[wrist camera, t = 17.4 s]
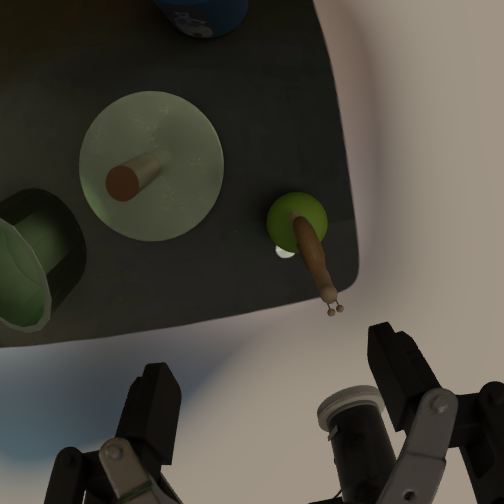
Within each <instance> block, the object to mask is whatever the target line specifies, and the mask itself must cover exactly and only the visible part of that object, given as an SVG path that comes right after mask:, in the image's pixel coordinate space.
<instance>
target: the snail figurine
mask: <svg viewBox="0 0 504 504" xmlns="http://www.w3.org/2000/svg"><path fill="white" fill-rule="evenodd" d="M267 229H268V233H269V235H270V237H271V239H272V240H273V242H274V243H275V244H276V245H277V246H278V247H280V248H281V249H283V250H285V251H288V252H292V253H300V255H301V258H302V260H303V262H304V264H305V266H306V268H307V269H308V271H309V272H310V273H311V274H312V276H313V279H314V281H315V284H316V285H317V287H318V289H319V291H320V297H321V299H322V300H323V301H324V302H325V303H327V305H328V307H329V304H331V303H333V302H335V301H336V302H337V290H336V288H335V287H334V286H333V284H332V281H331V278H330V275H329V273H328V271H327V269H326V268H325V255H324V252H323V248H322V246H321V243H320V242H321V241H322V239H323V238H324V236H325V233H326V230H327V216H326V212H325V210H324V208H323V206H322V205H321V204H320V202H319V201H318V200H317V199H315V198H314V197H312V196H311V195H308V194H306V193H301V192H292V193H288V194H285V195H283V196H281V197H280V198H278V199H277V200H276V201H275V202H274V203H273V205H272V206H271V208H270V210H269V212H268V215H267ZM337 304H338V302H337ZM336 310H337V312H342V311H343V310H344V307H343V306H342V305H339V304H338V306H337V307H336ZM334 314H335V310H334V309H330V307H329V310H328V315H329V316H333V315H334Z"/></svg>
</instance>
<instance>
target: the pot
mask: <svg viewBox="0 0 504 504" xmlns="http://www.w3.org/2000/svg"><path fill="white" fill-rule="evenodd" d="M85 263H86V249H85V243H84V239H83V235H82V232H81V230H80V227H79V225H78V223H77V221H76V219H75V218H74V216H73V214H72V213H71V211H70V210H69V209H68V208H67V206H66V205H65V204H64V203H63V202H62V201H61V200H59V199H58V198H57V197H56V196H54V195H52V194H51V193H49V192H46V191H44V190H40V189H27V190H22V191H20V192H18V193H16V194H14V195H12V196H10V197H8V198H6V199H5V200H3V201H1V202H0V321H1V322H3V323H4V324H5V325H7V326H8V327H10V328H12V329H15V330H19V331H22V332H25V333H29V332H34V331H39V330H41V329H42V328H43V327H44V326H45V324H46V323H47V322H48V321H49V319H50V318H51V317H52V315H53V314H54V313H55V311H56V310H57V309H58V307H59V306H60V305H61V303H62V302H63V301H64V299H65V298H66V297H67V296H68V294H69V293H70V292H71V290H72V289H73V288H74V287H75V285H76V284H77V283H78V282H79V280H80V279H81V276H82V274H83V271H84V268H85Z"/></svg>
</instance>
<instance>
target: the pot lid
mask: <svg viewBox="0 0 504 504" xmlns="http://www.w3.org/2000/svg"><path fill="white" fill-rule="evenodd" d="M79 175H80V181H81V186H82V189H83V192H84V195H85V197H86V199H87V201H88V203H89V205H90V207H91V208H92V210H93V211H94V212H95V214H96V215H97V216H98V217H99V218H100V219H101V220H102V221H103V222H104V223H105V224H106V225H107V226H109V227H110V228H111V229H113V230H114V231H116V232H118V233H120V234H122V235H124V236H126V237H129V238H132V239H136V240H142V241H163V240H167V239H172V238H175V237H177V236H180V235H182V234H184V233H186V232H188V231H189V230H191V229H192V228H194V227H195V226H196V225H198V224H199V223H200V222H201V221H202V220H203V219H204V218H205V217H206V215H207V214H208V213H209V212H210V210H211V209H212V207H213V205H214V204H215V202H216V200H217V197H218V195H219V193H220V189H221V186H222V182H223V176H224V156H223V150H222V146H221V142H220V139H219V137H218V134H217V132H216V130H215V128H214V127H213V125H212V123H211V122H210V121H209V119H208V118H207V117H206V115H205V114H204V113H203V112H202V111H201V110H200V109H199V108H197V107H196V106H195V105H193V104H192V103H191V102H189V101H187V100H185V99H183V98H181V97H179V96H176V95H173V94H170V93H166V92H161V91H144V92H137V93H133V94H130V95H127V96H124V97H122V98H120V99H118V100H116V101H115V102H113V103H112V104H110V105H109V106H108V107H106V108H105V109H104V110H103V111H102V112H101V113H100V114H99V115H98V116H97V117H96V119H95V120H94V121H93V122H92V124H91V126H90V127H89V129H88V131H87V133H86V135H85V137H84V140H83V143H82V147H81V151H80V157H79Z"/></svg>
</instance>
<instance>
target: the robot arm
mask: <svg viewBox="0 0 504 504" xmlns="http://www.w3.org/2000/svg"><path fill="white" fill-rule="evenodd" d="M367 356H368V363H369V366H370V369H371V372H372V374H373V376H374V379H375V381H376V384H377V386H378V389H379V391H380V393H381V396H382V398H383V401H384V404H385V406H386V408H387V411H388V413H389V416H390V419H391V422H392V424H393V427H394V429H395V432H398V431H401V430H404V431H405V433H406V436H407V437H406V439H405V442H404V445H403V447H402V450H401V452H400V455H399V457H398V459H397V460H396V457H395V454H394V451H393V448H392V445H391V442H390V440H389V436H388V434H387V431H386V428H385V425H384V422H383V420H382V417H381V414H380V410H379V407H378V404H377V403H376V402H374V401H370V400H360V401H355V402H351V403H348V404H346V405H344V406H341V407H340V408H338V409H336V410H335V411H333V412H332V413H331V414H330V415H329V416H328V418H327V421H326V424H327V428H328V430H329V436H328V441H330V440H331V444H332V448H333V453H334V463H335V465H336V467H337V472H338V476H339V481H340V486H341V490H340V491H339V492H338V494H337V495H336V496H335V497H334V498H333V499H328V500H323V501H318V502H312V503H309V504H432V502H433V500H434V497H435V495H436V492H437V489H438V486H439V484H440V481H441V479H442V476H443V472H444V470H445V466H446V460H445V456H446V452H447V449H448V448H454V447H459V449H460V452H461V455H462V457H463V460H464V463H465V466H466V469H467V472H468V475H469V477H470V481H471V484H472V487H473V490H474V494H475V497H476V500H477V503H478V504H504V384H503V383H501V382H497V381H493V382H489V383H487V384H485V385H484V386H483V387H482V389H481V390H480V392H479V393H473V394H465V395H455V394H454V393H452V392H451V391H450V390H447V389H444V388H442V387H441V386H440V384H439V382H438V380H437V379H436V377H435V375H434V373H433V372H432V370H431V368H430V366H429V365H428V363H427V362H426V360H425V358H424V357H423V355H422V353H421V351H420V350H419V349H418V346H417V345H416V343H415V342H414V340H413V339H412V337H410V336H409V335H408V334H406V333H405V332H403V331H400V332H397V333H395V332H394V330H393V329H392V327H391V325H390V324H389V323H388V322H384V323H380V324H376V325H373V326H369V329H368V350H367ZM127 397H128V398H127V399H126V402H125V407H124V408H123V412H122V415H121V418H120V421H119V425H118V428H117V432H116V435H115V437H114V438H112V439H109V440H108V441H106V442H105V443H104V444H103V445H102V447H101V449H100V450H98V451H93V452H87V453H82V452H80V451H79V450H78V449H77V448H75V447H66V448H64V449H62V450H61V451H60V452H59V453H58V455H57V457H56V459H55V463H54V467H53V470H52V473H51V477H50V481H49V485H48V488H47V492H46V497H45V501H44V504H82V502H83V496H84V492H85V490H86V495H85V500H84V504H183V503H182V501H181V500H180V499H179V497H178V496H177V494H176V493H175V492H174V490H173V489H172V488H171V486H170V484H169V483H168V482H167V480H166V479H165V477H164V476H163V474H162V473H161V472H160V471H161V465H171V464H172V456H173V450H174V443H175V436H176V429H177V422H178V416H179V410H180V405H181V390H180V387H179V385H178V383H177V381H176V379H175V378H174V376H173V374H172V372H171V371H170V369H169V367H168V365H167V364H166V363H165V362H162V363H151V364H147V365H146V366H145V369H144V372H143V375H142V377H137V378H136V380H135V381H134V382H133V384H132V385H131V386H130V389H129V392H128V395H127ZM341 492H342V495H343V499H342V497H337V496H338V495H339V494H340V493H341ZM336 497H337V498H336ZM343 501H344V502H343Z"/></svg>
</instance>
